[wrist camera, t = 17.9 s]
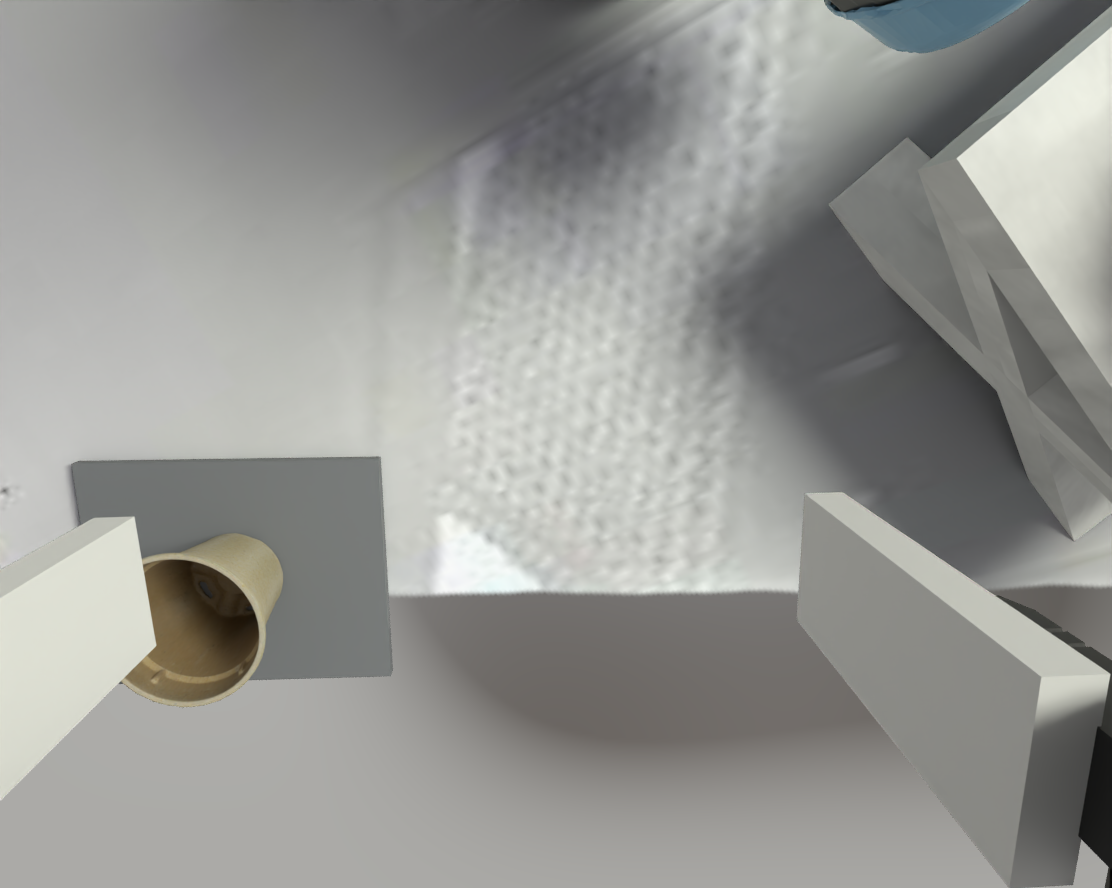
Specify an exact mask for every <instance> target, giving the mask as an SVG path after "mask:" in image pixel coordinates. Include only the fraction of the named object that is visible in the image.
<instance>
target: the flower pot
mask: <svg viewBox="0 0 1112 888" xmlns="http://www.w3.org/2000/svg"><path fill="white" fill-rule="evenodd" d="M142 564H143V570H144V576H145V582H146V588H147V594H148V599H149V605H150V611H151V617H152V623H153V629H154V635H155V641H156V647H155V648H154V649H153V650H152V651H151V652H150V653H149V654H148V655H147V656H146V657H145V658H144V659H143V660H142V661H141V662H140V663H139V664H138V665H136V666H135V667H134V668H133V669H132V670H131V671H130V672H129V673H128V674H127V675H126V676H125V677H124V678H123V679H122V680H121V682H122V683H123V684H125V685H126V686H127V687H128V688H130V689H131V690H132V691H134V692H135V693H137V694H139V695H141V696H143V697H145V698H147V699H149V700H152V701H153V702H158V703H161V704H165V705H169V706H179V707H195V706H202V705H207V704H210V703H213V702H216V701H219V700H221V699H223V698H225V697H227V696H229V695H231V694H232V693H234V692H235V691H236V690H238V689H239V688H240V687H242V686H243V685H244V684H245V683H246V682H247V681H248V680H249V678H250V677H251V676H252V675H253V673H254V672H255V670H256V669H257V667H258V665H259V663H260V661H261V659H262V656H263V653H264V649H265V642H266V626H265V625H266V623H267V621H268V619H269V616H270V614H271V612H272V610H273V608H274V605H275V603H276V601H277V599H278V598H279V596H280V593H281V590H282V585H283V572H282V568H281V565H280V562H279V560H278V558H277V557H276V555H275V554H274V552H273V551H272V550H271V549H270V548H269V547H268V546H267V545H266V544H265V543H263V542H262V541H260V540H257V539H254V538H251V537H248V536H245V535H242V534H238V533H229V534H223V535H219V536H216V537H213V538H211V539H209V540H208V541H206V542H203V543H201V544H199V545H197V546H194V547H192V548H190V549H187V550H185V551H182V552H180V553H164V554H157V555H153V556H149V557H146V558H143V559H142ZM201 582H204V583H206V584H207V587H208V589H209V591H210V592H211V594H212V595H213V596H212V597H211V598H210V597H209V596H208V595H207V594H206V593H205V591H204V590H203V589H202V587H201V585H200V583H201ZM249 606H252V607H253V610H248V609H247V607H249Z"/></svg>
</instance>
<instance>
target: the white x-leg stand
mask: <svg viewBox="0 0 1112 888" xmlns="http://www.w3.org/2000/svg"><path fill="white" fill-rule="evenodd" d="M828 205H829V206H830V208H831V209H832V211H833V212H834V213H835V215H836V216H837V217H838V219H839V220H840V221H841V223H842V224H843V226H844V227H845V228H846V230H847V231H848V232H849V234H850V235H851V237H852V238H853V239H854V241H855V242H856V243H857V245H858V246H859V248H860V249H861V250H862V252H863V253H864V254H865V256H866V257H867V258H868V260H869V261H870V263H871V264H872V265H873V267H874V268H875V269H876V271H877V272H878V274H879V275H880V276H881V278H882V279H883V280H884V281H885V282H886V283H887V284H888V285H889V286H890V287H891V288H892V289H893V290H894V291H895V292H896V293H897V294H898V295H899V296H900V297H901V298H902V299H903V300H904V301H905V302H906V303H907V304H908V305H909V306H910V307H911V308H912V309H913V310H914V311H915V312H916V313H917V314H918V315H919V316H920V317H921V318H922V319H923V320H924V321H926V322H927V323H928V324H929V325H930V326H931V327H932V328H933V329H934V330H935V331H936V332H937V333H938V334H939V335H940V336H941V337H942V338H943V339H944V340H945V341H946V342H947V343H948V344H949V345H950V346H951V347H952V348H953V349H954V350H955V351H956V352H957V353H958V354H959V355H960V356H961V357H962V358H963V359H964V360H965V361H966V362H968V363H969V364H970V365H971V366H972V367H973V368H974V369H975V370H976V371H977V372H978V373H979V374H980V375H981V376H982V377H983V378H984V379H985V380H986V381H987V382H988V383H989V384H990V385H991V386H992V387H993V388H994V389H995V390H996V391H997V393H998V396H999V398H1000V401H1001V404H1002V407H1003V410H1004V412H1005V415H1006V418H1007V421H1008V424H1009V426H1010V429H1011V432H1012V435H1013V437H1014V440H1015V443H1016V446H1017V449H1018V451H1019V454H1020V457H1021V460H1022V463H1023V465H1024V468H1025V471H1026V474H1027V476H1028V479H1029V481H1030V482H1031V483H1032V485H1033V486H1034V487H1035V489H1036V490H1037V492H1038V493H1039V494H1040V496H1041V497H1042V498H1043V500H1044V501H1045V502H1046V504H1047V505H1048V507H1049V508H1050V509H1051V511H1052V512H1053V513H1054V515H1055V516H1056V518H1057V519H1058V520H1059V522H1060V523H1061V524H1062V526H1063V527H1064V529H1065V530H1066V531H1067V533H1068V534H1069V535H1070V537H1071V538H1072V540H1073V541H1074V542H1075V541H1076V540H1077V539H1079V538H1080V537H1081V536H1083V535H1084V534H1085V533H1087V532H1088V531H1089V530H1090V529H1092V528H1093V527H1094V526H1096V525H1097V524H1098V523H1100V522H1101V521H1102V520H1104V519H1105V518H1106V517H1107V516H1109V515H1110V514H1111V513H1112V6H1110V7H1109V8H1108V9H1107V10H1106V11H1105V12H1103V13H1102V14H1101V15H1100V16H1099V17H1097V18H1096V19H1095V20H1094V21H1093V22H1092V23H1090V24H1089V25H1088V26H1087V27H1086V28H1085V29H1083V30H1082V31H1081V32H1080V33H1079V34H1078V35H1076V36H1075V37H1074V38H1073V39H1072V40H1070V41H1069V42H1068V43H1067V44H1066V45H1065V46H1063V47H1062V48H1061V49H1060V50H1059V51H1058V52H1056V53H1055V54H1054V55H1053V56H1052V57H1051V58H1049V59H1048V60H1047V61H1046V62H1045V63H1043V64H1042V65H1041V66H1040V67H1039V68H1038V69H1036V70H1035V71H1034V72H1033V73H1032V74H1031V75H1029V76H1028V77H1027V78H1026V79H1025V80H1023V81H1022V82H1021V83H1020V84H1019V85H1018V86H1016V87H1015V88H1014V89H1013V90H1012V91H1011V92H1009V93H1008V94H1007V95H1006V96H1005V97H1004V98H1002V99H1001V100H1000V101H999V102H998V103H996V104H995V105H994V106H993V107H992V108H991V109H989V110H988V111H987V112H986V113H985V114H984V115H982V116H981V117H980V118H979V119H978V120H977V121H975V122H974V123H973V124H972V125H971V126H969V127H968V128H967V129H966V130H965V131H964V132H962V133H961V134H960V135H959V136H958V137H957V138H955V139H954V140H953V141H952V142H951V143H949V144H948V145H947V146H946V147H945V148H944V149H942V150H941V151H940V152H939V153H938V154H937V155H935V156H934V157H933V158H932V159H931V158H930V157H929V156H928V155H927V154H925V153H924V152H923V151H922V150H921V149H920V148H919V147H918V146H917V145H915V144H914V143H913V142H912V141H911V140H910V139H909V138H908V137H907V138H905V139H904V140H903V141H902V142H901V143H900V144H898V145H897V146H896V147H895V148H894V149H892V150H891V151H890V152H889V153H888V154H887V155H885V156H884V157H883V158H882V159H881V160H880V161H878V162H877V163H876V164H875V165H874V166H873V167H871V168H870V169H869V170H868V171H867V172H866V173H864V174H863V175H862V176H861V177H860V178H859V179H857V180H856V181H855V182H854V183H853V184H852V185H850V186H849V187H848V188H847V189H846V190H845V191H843V192H842V193H841V194H840V195H839V196H838V197H836V198H835V199H834V200H833V201H832V202H831V203H829V204H828Z"/></svg>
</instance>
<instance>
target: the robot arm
mask: <svg viewBox="0 0 1112 888" xmlns="http://www.w3.org/2000/svg"><path fill="white" fill-rule="evenodd" d="M1028 1H1030V0H824V2H825V4H826V6H827V7H828V9H829V10H830V11H831V12H833V13H834V14H835V15H837V16H841V17H843V18H845V19H847V20H853V21H854V22H855V23H857V24H858V25H859V26H861V27H862V28H863V29H865V30H866V31H867V32H869V33H870V34H871V35H873V36H874V37H875V38H877V39H878V40H879V41H881V42H882V43H883V44H885V45H886V46H888V47H889V48H892V49H894V50H897V51H902V52H905V51H907V52H910V53H912V52H916V53H928V52H933V51H937V50H940V49H944V48H947V47H950V46H952V45H955V44H957V43H960V42H962V41H964V40H966V39H968V38H970V37H972V36H974V35H976V34H978V33H980V32H982V31H984V30H985V29H987V28H989V27H990V26H992V25H994V24H995V23H997V22H999V21H1000V20H1002V19H1004V18H1005V17H1007V16H1008V15H1010V14H1011V13H1013V12H1014V11H1016V10H1017V9H1019V8H1020V7H1021V6H1023V5H1024V4H1026V3H1027V2H1028ZM797 621H798V622H799V623H800V624H801V626H802V627H803V628H804V629H805V631H806V632H807V633H808V634H809V636H810V637H811V638H812V640H813V641H814V642H815V643H816V645H817V646H818V647H819V648H820V650H821V651H822V652H823V653H824V655H825V656H826V657H827V659H828V660H829V661H830V662H831V664H832V665H833V666H834V667H835V669H836V670H837V671H838V673H839V674H840V675H841V676H842V678H843V679H844V680H845V681H846V683H847V684H848V685H849V686H850V688H851V689H852V690H853V691H854V693H855V694H856V695H857V697H858V698H859V699H860V700H861V701H862V703H863V704H864V705H865V707H866V708H867V709H868V710H869V712H870V713H871V714H872V715H873V717H874V718H875V719H876V721H877V722H878V723H879V724H880V726H881V727H882V728H883V729H884V731H885V732H886V733H887V734H888V736H889V737H890V738H891V739H892V741H893V742H894V743H895V744H896V746H897V747H898V748H899V750H900V751H901V752H902V753H903V755H904V756H905V757H906V758H907V760H908V761H909V762H910V764H911V765H912V766H913V767H914V769H915V770H916V771H917V772H918V774H919V775H920V776H921V777H922V778H923V780H924V781H925V782H926V784H927V785H928V786H929V788H930V789H931V790H932V791H933V793H934V794H935V795H936V796H937V798H938V799H939V800H940V802H941V803H942V804H943V805H944V807H945V808H946V809H947V810H948V812H949V813H950V814H951V815H952V816H953V818H954V819H955V820H956V822H957V823H958V824H959V825H960V827H961V828H962V829H963V831H964V832H965V833H966V834H967V836H968V837H969V838H970V839H971V841H972V842H973V843H974V844H975V846H976V847H977V848H978V850H979V851H980V852H981V853H982V854H983V856H984V857H985V858H986V860H987V861H988V862H989V863H990V865H991V866H992V867H993V869H994V870H995V871H996V872H997V874H998V875H999V876H1000V877H1001V879H1002V880H1003V881H1004V882H1005V884H1006V885H1007V886H1008V888H1025V887H1044V886H1063V885H1073V882H1074V876H1075V871H1076V865H1077V860H1078V854H1079V848H1080V842H1081V839H1082V840H1083V841H1084V842H1085V843H1086V844H1087V845H1088V846H1089V847H1090V848H1091V849H1092V850H1093V851H1094V853H1095V854H1097V855H1098V856H1099V858H1100V859H1101V860H1102V861H1103V862H1104V863H1106V865H1107V866H1108V867H1109V868H1108V873H1107V879H1106V884H1105V888H1112V660H1110V659H1109V658H1107V657H1105V656H1104V655H1102V654H1101V653H1099V652H1098V651H1096V650H1094V649H1093V648H1092V647H1086V646H1085V643H1084V642H1083V641H1081V640H1079V639H1078V638H1076V637H1075V636H1073V635H1072V634H1070V633H1069V632H1063V631H1062V628H1061V627H1059V626H1058V625H1056V624H1055V623H1053V622H1052V621H1050V620H1049V619H1047V618H1046V617H1044V616H1043V615H1041V614H1039V613H1038V612H1036V611H1035V610H1033V609H1030V608H1028V607H1026V606H1023V605H1021V604H1018V603H1015V602H1013V601H1011V600H1008V599H1005V598H1003V597H1001V596H995V595H993V594H992V593H990V592H989V591H987V590H986V589H985V588H983V587H982V586H980V585H979V584H977V583H976V582H974V581H973V580H971V579H970V578H968V577H967V576H965V575H964V574H962V573H961V572H959V571H958V570H956V569H955V568H954V567H952V566H951V565H949V564H948V563H946V562H945V561H943V560H942V559H940V558H939V557H937V556H936V555H934V554H933V553H931V552H930V551H928V550H927V549H926V548H924V547H923V546H921V545H920V544H918V543H917V542H915V541H914V540H912V539H911V538H909V537H908V536H906V535H905V534H903V533H902V532H900V531H899V530H897V529H896V528H895V527H893V526H892V525H890V524H889V523H887V522H886V521H884V520H883V519H881V518H880V517H878V516H877V515H875V514H874V513H872V512H871V511H869V510H868V509H867V508H865V507H864V506H862V505H861V504H859V503H858V502H856V501H855V500H853V499H852V498H850V497H849V496H847V495H846V494H844V493H843V492H831V493H805V494H804V510H803V526H802V543H801V559H800V575H799V591H798V608H797ZM155 647H156V641H155V635H154V629H153V623H152V617H151V611H150V605H149V599H148V594H147V588H146V582H145V576H144V570H143V564H142V558H141V552H140V547H139V541H138V535H137V529H136V523H135V517H134V516H133V517H104V518H93V519H91V520H89V521H87V522H86V523H84V524H82V525H80V526H78V527H76V528H75V529H73V530H71V531H69V532H67V533H66V534H64V535H62V536H60V537H58V538H57V539H55V540H53V541H51V542H49V543H48V544H46V545H44V546H42V547H40V548H39V549H37V550H35V551H33V552H31V553H30V554H28V555H26V556H24V557H22V558H21V559H19V560H17V561H15V562H13V563H12V564H10V565H8V566H6V567H4V568H3V569H1V570H0V801H1V800H2V799H3V798H4V797H5V796H6V794H8V793H9V791H11V790H12V789H13V788H14V787H15V786H16V785H17V784H18V783H19V782H20V781H21V780H22V779H23V778H24V777H25V776H26V775H27V774H28V773H29V772H30V771H31V770H32V769H33V768H34V767H35V766H36V765H37V764H38V763H39V762H40V761H41V760H42V759H43V758H44V757H45V756H46V755H47V754H48V753H49V752H50V751H51V750H52V749H53V748H54V747H55V746H56V745H57V744H58V743H59V742H60V741H61V740H62V739H63V738H64V737H65V736H66V735H67V734H68V733H69V732H70V731H71V730H72V729H73V728H74V727H75V726H76V725H77V724H78V723H79V722H80V721H81V720H82V719H83V718H84V717H85V716H86V715H87V714H88V713H89V712H90V711H91V710H92V709H93V708H94V707H95V706H96V705H97V704H98V703H99V702H100V701H101V700H102V699H103V698H104V697H105V696H106V695H107V694H108V693H109V692H110V691H111V690H112V689H113V688H114V687H115V686H116V685H117V684H118V683H119V682H120V681H121V680H122V679H123V678H124V677H125V676H126V675H127V674H128V673H129V672H130V671H131V670H132V669H133V668H134V667H135V666H136V665H138V664H139V663H140V662H141V661H142V660H143V659H144V658H145V657H146V656H147V655H148V654H149V653H150V652H151V651H152V650H153V649H154V648H155Z"/></svg>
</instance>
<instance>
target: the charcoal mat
mask: <svg viewBox="0 0 1112 888" xmlns="http://www.w3.org/2000/svg"><path fill="white" fill-rule="evenodd" d="M71 465H72V472H73V478H74V485H75V491H76V498H77V505H78V511H79V518H80V524H81V525H82V524H84V523H86V522H87V521H89V520H91V519H93V518H104V517H133V516H134V517H135V523H136V529H137V535H138V541H139V547H140V552H141V558H142V559H143V558H146V557H149V556H153V555H157V554H164V553H180V552H182V551H185V550H187V549H190V548H192V547H194V546H197V545H199V544H201V543H203V542H206V541H208V540H209V539H211V538H213V537H216V536H219V535H223V534H229V533H238V534H242V535H245V536H248V537H251V538H254V539H257V540H260V541H262V542H263V543H265V544H266V545H267V546H268V547H269V548H270V549H271V550H272V551H273V552H274V554H275V555H276V557H277V558H278V560H279V562H280V565H281V568H282V572H283V585H282V590H281V593H280V596H279V598H278V599H277V601H276V603H275V605H274V608H273V610H272V612H271V614H270V616H269V619H268V621H267V623H266V625H265V626H266V642H265V649H264V653H263V656H262V659H261V661H260V663H259V665H258V667H257V669H256V670H255V672H254V673H253V675H252V676H251V677H250V678H249V680H267V679H268V680H271V679H306V678H341V677H374V676H391V674H392V671H393V665H392V648H391V631H390V613H389V596H388V579H387V561H386V544H385V527H384V509H383V492H382V475H381V457H326V458H258V459H190V460H122V461H78V462H75V463H73V464H71ZM200 585H201V587H202V589H203V590H204V591H205V593H206V594H207V595H208V596H209V597H210V598H211V597H212V596H213V595H212V594H211V592H210V591H209V589H208V587H207V584H206V583H204V582H201V583H200ZM247 609H248V610H253V607H252V606H249V607H247ZM118 684H123V683H122V682H121V681H120V682H119V683H118Z"/></svg>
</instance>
